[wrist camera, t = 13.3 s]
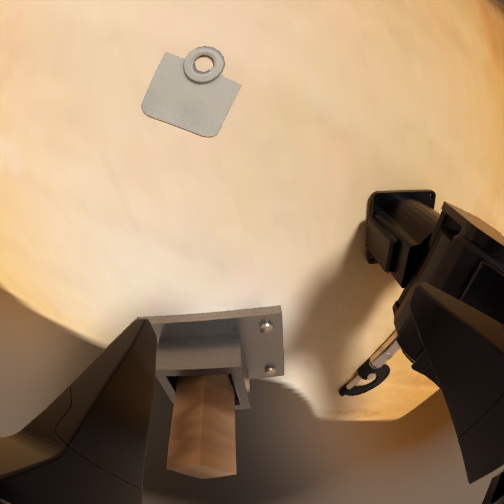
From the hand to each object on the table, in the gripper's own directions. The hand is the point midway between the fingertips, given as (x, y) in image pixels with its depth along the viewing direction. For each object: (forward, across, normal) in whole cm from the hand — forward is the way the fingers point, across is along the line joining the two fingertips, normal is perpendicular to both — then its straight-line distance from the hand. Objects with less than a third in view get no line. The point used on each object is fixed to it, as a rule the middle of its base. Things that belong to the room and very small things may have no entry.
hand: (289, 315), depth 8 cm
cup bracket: (+13, +6, +16) cm, 21 cm away
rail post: (+12, +7, +17) cm, 22 cm away
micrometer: (+14, -15, +24) cm, 31 cm away
